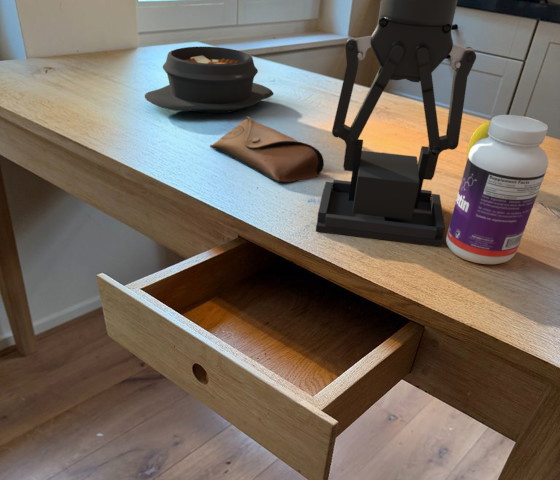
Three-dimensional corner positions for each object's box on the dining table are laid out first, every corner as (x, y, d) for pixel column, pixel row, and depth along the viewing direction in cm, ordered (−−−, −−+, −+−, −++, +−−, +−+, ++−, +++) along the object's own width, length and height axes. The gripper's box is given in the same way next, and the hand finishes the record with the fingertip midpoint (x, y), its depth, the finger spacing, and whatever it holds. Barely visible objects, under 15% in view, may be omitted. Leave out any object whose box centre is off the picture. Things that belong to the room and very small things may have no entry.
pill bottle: (446, 231, 70) (479, 106, 60) (513, 243, 68) (557, 117, 59) (441, 260, 64) (477, 127, 54) (514, 274, 62) (564, 140, 53)
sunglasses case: (204, 144, 87) (222, 101, 85) (235, 160, 92) (253, 121, 91) (280, 183, 77) (302, 136, 75) (309, 199, 83) (331, 155, 81)
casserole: (182, 129, 93) (179, 73, 88) (126, 101, 104) (120, 49, 98) (294, 109, 107) (297, 59, 101) (234, 86, 117) (235, 39, 112)
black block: (409, 191, 73) (417, 156, 70) (411, 220, 66) (419, 183, 64) (356, 185, 74) (361, 150, 71) (352, 213, 67) (357, 176, 64)
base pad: (435, 206, 75) (439, 191, 74) (441, 247, 66) (446, 231, 65) (324, 193, 77) (326, 178, 75) (315, 231, 67) (317, 215, 66)
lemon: (497, 184, 83) (515, 127, 78) (459, 177, 84) (474, 121, 79) (499, 172, 87) (516, 117, 82) (463, 165, 88) (477, 111, 83)
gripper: (319, -31, 53) (299, 202, 68) (534, -13, 52) (466, 222, 66) (326, -37, 59) (306, 179, 74) (520, -21, 57) (460, 197, 72)
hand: (382, 199), depth 70 cm, fingers closed on black block, 7 cm apart
